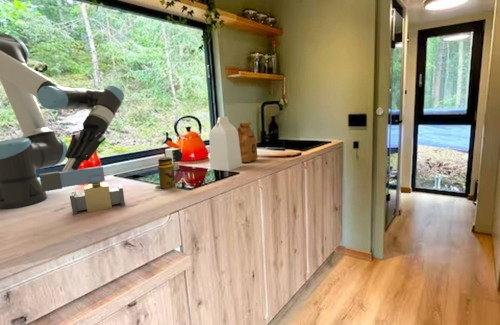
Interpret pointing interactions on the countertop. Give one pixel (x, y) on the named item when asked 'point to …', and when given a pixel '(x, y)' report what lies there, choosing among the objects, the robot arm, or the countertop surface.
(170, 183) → the condiment
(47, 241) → the countertop surface
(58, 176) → the lever
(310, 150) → the countertop surface
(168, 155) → the pneumatic valve
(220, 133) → the milk
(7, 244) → the countertop surface
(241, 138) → the coffee package
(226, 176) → the countertop surface
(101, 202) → the ball valve
